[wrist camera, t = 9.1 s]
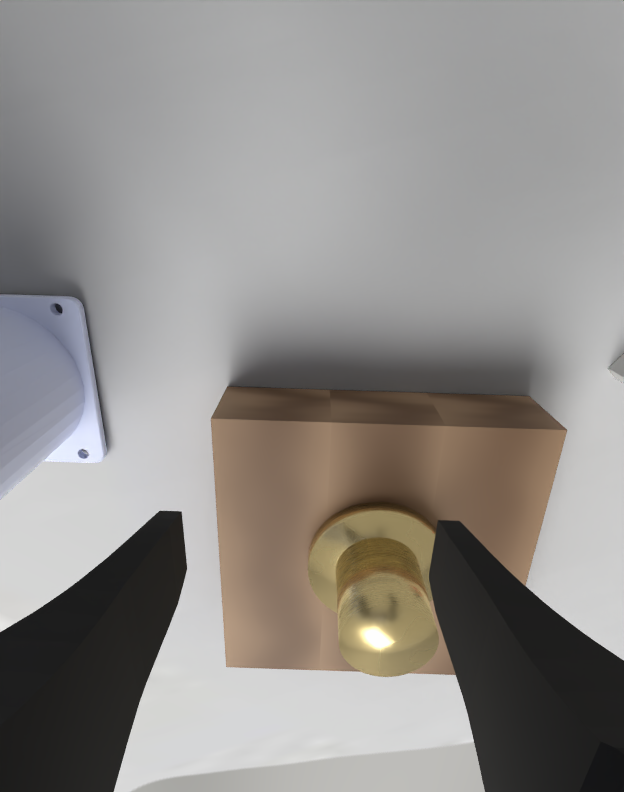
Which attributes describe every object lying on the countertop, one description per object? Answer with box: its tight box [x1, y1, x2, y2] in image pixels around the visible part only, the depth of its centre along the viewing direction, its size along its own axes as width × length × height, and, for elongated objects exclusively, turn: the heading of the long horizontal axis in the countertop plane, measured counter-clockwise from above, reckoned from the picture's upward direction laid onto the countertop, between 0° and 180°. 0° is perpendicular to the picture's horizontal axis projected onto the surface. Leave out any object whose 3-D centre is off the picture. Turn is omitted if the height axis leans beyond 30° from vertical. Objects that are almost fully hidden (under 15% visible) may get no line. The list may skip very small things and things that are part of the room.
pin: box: [308, 502, 439, 677], centre depth 20 cm, size 6×6×7 cm
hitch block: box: [211, 387, 567, 675], centre depth 22 cm, size 14×14×4 cm
